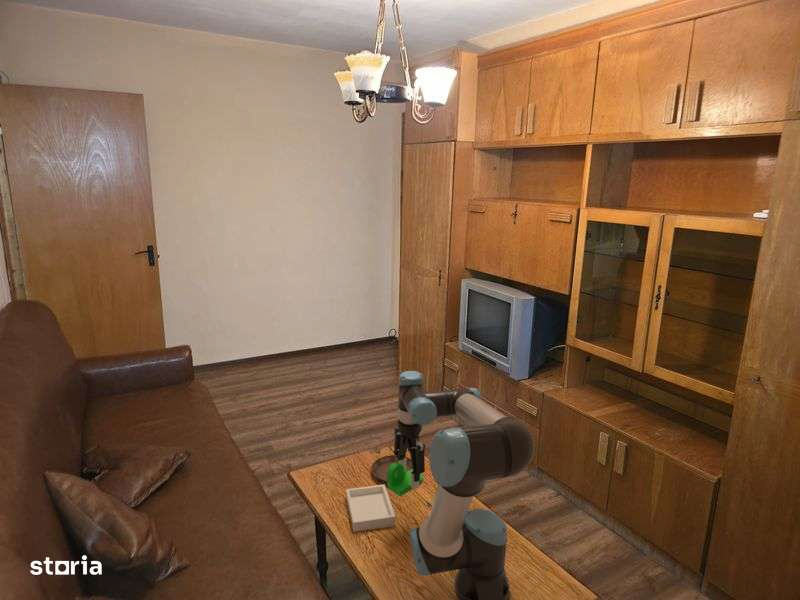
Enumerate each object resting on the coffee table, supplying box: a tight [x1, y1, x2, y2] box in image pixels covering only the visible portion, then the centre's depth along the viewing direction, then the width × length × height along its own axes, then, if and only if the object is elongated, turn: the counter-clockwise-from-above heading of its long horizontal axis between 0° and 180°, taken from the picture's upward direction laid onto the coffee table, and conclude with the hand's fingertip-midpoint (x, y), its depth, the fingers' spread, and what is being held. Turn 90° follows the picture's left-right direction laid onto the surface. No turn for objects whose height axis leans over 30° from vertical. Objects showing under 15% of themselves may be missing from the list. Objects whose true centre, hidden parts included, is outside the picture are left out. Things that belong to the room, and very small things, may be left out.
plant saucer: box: [370, 454, 413, 484], centre depth 199 cm, size 18×18×3 cm
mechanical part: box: [386, 462, 424, 497], centre depth 167 cm, size 12×6×8 cm, turn 133°
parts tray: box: [345, 483, 396, 533], centre depth 177 cm, size 18×14×4 cm
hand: (408, 482), depth 168 cm, fingers closed on mechanical part, 6 cm apart
